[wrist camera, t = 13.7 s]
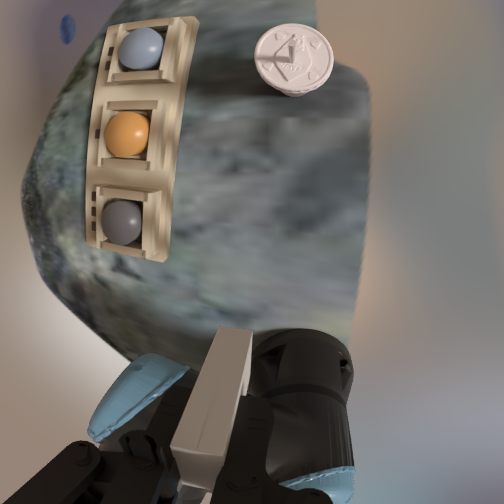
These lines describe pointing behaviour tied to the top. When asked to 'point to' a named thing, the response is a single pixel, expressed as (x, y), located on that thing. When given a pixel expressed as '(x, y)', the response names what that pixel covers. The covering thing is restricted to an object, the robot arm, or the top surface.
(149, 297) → the top surface
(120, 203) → the charcoal button
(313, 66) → the smoothie
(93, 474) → the robot arm
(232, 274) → the top surface
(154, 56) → the blue button
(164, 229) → the button panel
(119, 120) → the orange button
